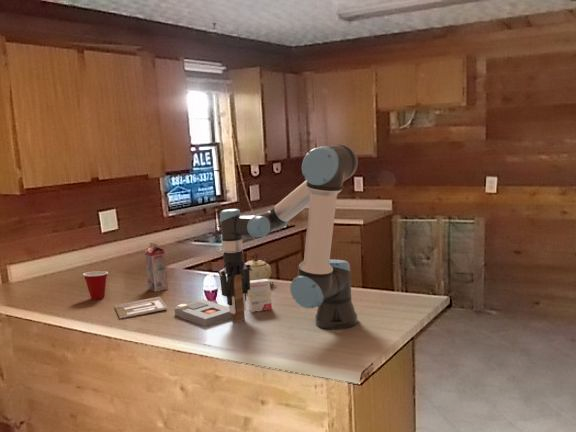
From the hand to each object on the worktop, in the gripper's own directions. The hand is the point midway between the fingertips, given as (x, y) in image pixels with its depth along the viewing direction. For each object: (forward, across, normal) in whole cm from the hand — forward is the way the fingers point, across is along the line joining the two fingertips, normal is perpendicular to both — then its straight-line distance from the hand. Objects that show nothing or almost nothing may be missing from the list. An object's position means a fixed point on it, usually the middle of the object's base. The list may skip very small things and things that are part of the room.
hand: (237, 311), depth 215 cm
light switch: (+4, +17, -45) cm, 49 cm away
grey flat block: (+4, +5, -15) cm, 16 cm away
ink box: (+4, -14, -4) cm, 15 cm away
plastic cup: (+4, +21, -78) cm, 81 cm away
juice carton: (+4, -4, -68) cm, 68 cm away
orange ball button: (+2, +5, -11) cm, 12 cm away
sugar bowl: (+4, -36, -34) cm, 50 cm away
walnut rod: (+4, 0, 0) cm, 4 cm away
